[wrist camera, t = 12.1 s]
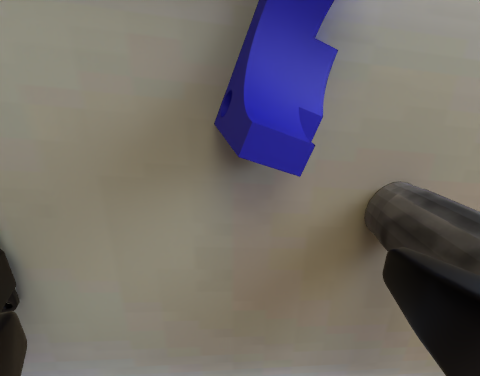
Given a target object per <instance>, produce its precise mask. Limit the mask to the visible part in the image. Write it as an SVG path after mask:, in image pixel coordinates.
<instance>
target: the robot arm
mask: <svg viewBox="0 0 480 376" xmlns="http://www.w3.org/2000/svg"><path fill="white" fill-rule="evenodd" d="M383 279H384V282H385V284H386V285H387V287H388V289H389V290H390V292H391V294H392V295H393V297H394V299H395V300H396V302H397V304H398V305H399V307H400V309H401V310H402V312H403V314H404V315H405V317H406V319H407V320H408V322H409V324H410V325H411V327H412V329H413V330H414V332H415V333H416V335H417V336H418V338H419V339H420V341H421V342H422V343H423V345H424V346H425V347H426V349H427V350H428V352H429V353H430V354H431V356H432V357H433V358H434V360H435V361H436V363H437V364H438V365H439V367H440V368H441V369H442V371H443V372H444V374H445V375H446V376H480V275H478V274H475V273H473V272H470V271H467V270H465V269H462V268H459V267H457V266H454V265H451V264H449V263H446V262H443V261H441V260H438V259H435V258H433V257H430V256H427V255H425V254H422V253H419V252H417V251H414V250H411V249H409V248H406V247H399V248H393V249H390V250H389V251H388V252H387V256H386V260H385V265H384V269H383ZM15 287H16V282H15V279H14V277H13V274H12V272H11V269H10V266H9V264H8V261H7V258H6V256H5V253H4V251H2V250H1V249H0V376H21V372H22V368H23V363H24V359H25V355H26V350H27V339H26V336H25V333H24V331H23V328H22V326H21V323H20V321H19V318H18V316H17V314H16V313H15V312H12V311H14V310H15V309H16V308H17V306H18V304H19V297H18V295H17V292H16V290H15ZM6 302H9V303H11V304H7V303H6Z"/></svg>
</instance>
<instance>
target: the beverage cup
mask: <svg viewBox="0 0 480 376" xmlns="http://www.w3.org/2000/svg"><path fill="white" fill-rule="evenodd" d="M365 222H366V226H367V227H368V228H369V230H370V231H371V232H372V233H373V234H374V235H375V236H376V237H377V239H378V240H379V242H380V243H381V244H382V245H383V247H384V248H385V249H386V250H387V251H389V250H390V249H393V248H399V247H406V248H409V249H411V250H414V251H417V252H419V253H422V254H425V255H427V256H430V257H433V258H435V259H438V260H441V261H443V262H446V263H449V264H451V265H454V266H457V267H459V268H462V269H465V270H467V271H470V272H473V273H475V274H478V275H480V212H479V211H477V210H474V209H472V208H469V207H467V206H465V205H462V204H460V203H457V202H455V201H453V200H450V199H448V198H446V197H443V196H441V195H438V194H436V193H434V192H431V191H429V190H426V189H422V188H419V187H416V186H413V185H411V184H409V183H406V182H395V183H391V184H389V185H387V186H384V187H383V188H382V189H380V190H379V191H378V192H377V193H375V195H374V196H373V197H372V199H371V200H370V201H369V204H368V206H367V208H366V212H365Z"/></svg>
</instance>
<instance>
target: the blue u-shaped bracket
mask: <svg viewBox="0 0 480 376" xmlns="http://www.w3.org/2000/svg"><path fill="white" fill-rule="evenodd" d="M333 1H334V0H259V2H258V5H257V7H256V10H255V13H254V16H253V18H252V21H251V24H250V27H249V29H248V32H247V35H246V38H245V40H244V43H243V46H242V49H241V51H240V54H239V57H238V60H237V62H236V65H235V68H234V71H233V73H232V76H231V79H230V82H229V84H228V87H227V90H226V93H225V95H224V98H223V101H222V104H221V106H220V109H219V112H218V115H217V117H216V120H215V123H214V124H215V126H216V127H217V128H218V130H219V131H220V132H221V134H222V135H223V137H224V138H225V139H226V141H227V142H228V143H229V145H230V146H231V148H232V149H233V150H234V152H235V153H236V154H237V156H238V157H240V158H243V159H246V160H250V161H253V162H256V163H259V164H262V165H265V166H268V167H271V168H275V169H278V170H281V171H284V172H287V173H290V174H293V175H296V176H301V174H302V172H303V170H304V168H305V166H306V163H307V161H308V159H309V157H310V155H311V153H312V151H313V149H314V147H315V145H314V144H313V143H312V142H311V141H312V139H313V137H314V135H315V133H316V130H317V128H318V126H319V124H320V122H321V120H322V118H323V99H324V93H325V88H326V83H327V79H328V76H329V72H330V70H331V67H332V64H333V61H334V59H335V56H336V54H337V52H338V50H337V49H335V48H333V47H331V46H329V45H327V44H325V43H323V42H321V41H319V40H317V39H315V36H316V34H317V32H318V30H319V28H320V26H321V23H322V21H323V20H324V18H325V16H326V14H327V12H328V10H329V8H330V7H331V5H332V3H333Z"/></svg>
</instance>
